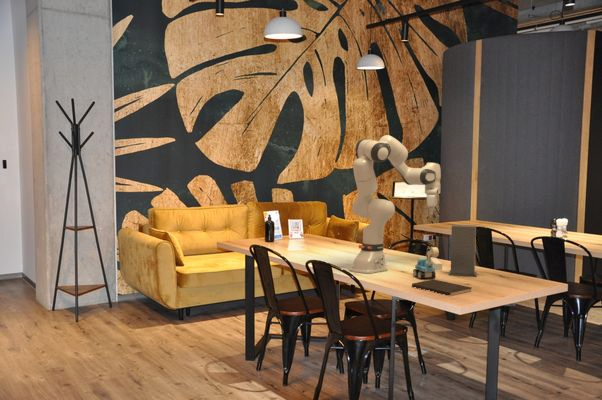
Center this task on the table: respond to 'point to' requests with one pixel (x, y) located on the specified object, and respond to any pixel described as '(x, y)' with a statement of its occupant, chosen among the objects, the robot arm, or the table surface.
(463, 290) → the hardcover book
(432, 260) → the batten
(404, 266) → the table surface
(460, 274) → the stand
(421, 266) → the toy excavator
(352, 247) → the table surface
